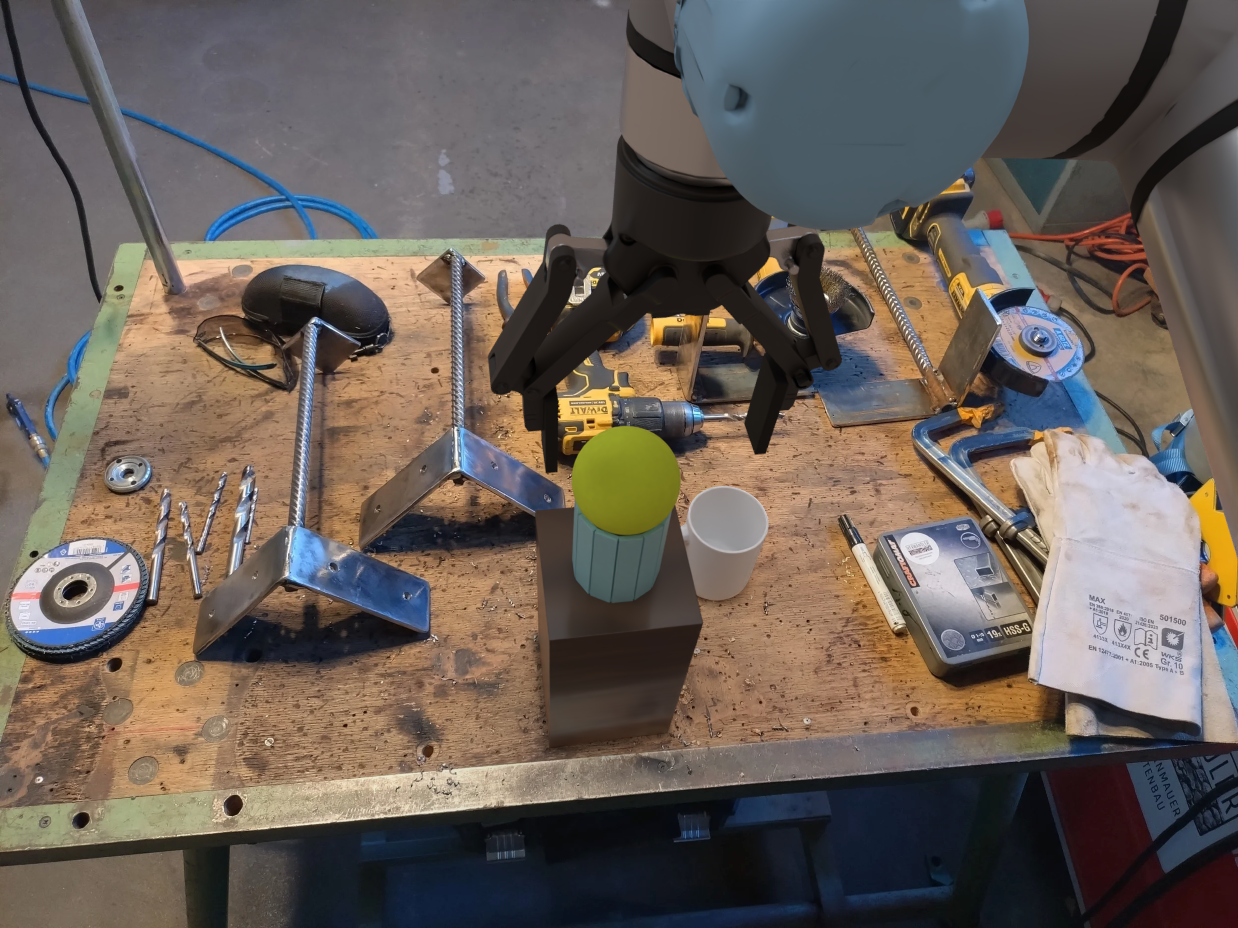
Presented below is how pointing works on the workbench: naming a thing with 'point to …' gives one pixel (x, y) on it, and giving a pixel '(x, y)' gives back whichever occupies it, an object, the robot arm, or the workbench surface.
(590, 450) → the ball
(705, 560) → the mug
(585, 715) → the dark brown block
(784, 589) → the workbench surface
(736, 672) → the workbench surface
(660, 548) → the tumbler
